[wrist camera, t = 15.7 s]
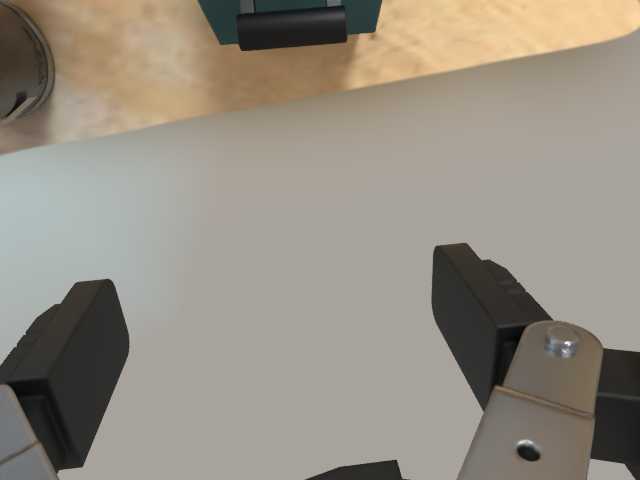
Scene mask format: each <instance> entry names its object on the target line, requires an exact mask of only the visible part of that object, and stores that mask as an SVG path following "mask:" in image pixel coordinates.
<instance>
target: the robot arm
mask: <svg viewBox="0 0 640 480" xmlns="http://www.w3.org/2000/svg"><path fill="white" fill-rule="evenodd" d="M53 81H54V62H53V57H52V53H51V50H50V48H49V45H48V43H47V41H46V39H45V37H44V35H43V34H42V32H41V31H40V29H39V28H38V26H37V25H36V24H35V23H34V22H33V21H32V20H31V19H30V18H29V17H28V16H27V15H26V14H25V13H24V12H23V11H21V10H20V9H18V8H17V7H15V6H14V5H12V4H10V3H8V2H6V1H4V0H0V121H2V120H4V121H3V122H2V123H1V124H0V126H2V125H5V124H9V123H10V122H11V121H12V120H13V119H15V118H19V117H23V116H26V115H28V114H30V113H32V112H34V111H35V110H37V109H38V108H39V107H40V106H41V105H42V104H43V103H44V102H45V101H46V99H47V98H48V96H49V94H50V92H51V89H52V86H53ZM432 310H433V315H434V318H435V321H436V324H437V326H438V327H439V329H440V331H441V333H442V335H443V337H444V339H445V340H446V342H447V344H448V346H449V348H450V350H451V352H452V354H453V355H454V357H455V359H456V361H457V363H458V365H459V366H460V369H461V370H462V372H463V374H464V376H465V378H466V380H467V382H468V383H469V385H470V387H471V389H472V391H473V393H474V394H475V397H476V398H477V400H478V402H479V404H480V406H481V408H482V410H483V412H484V414H483V416H482V418H481V421H480V423H479V426H478V428H477V431H476V433H475V436H474V438H473V440H472V443H471V445H470V448H469V450H468V453H467V455H466V458H465V460H464V463H463V465H462V467H461V470H460V472H459V475H458V477H457V480H587V474H588V467H589V461H590V459H597V460H603V461H610V462H617V463H623V464H625V465H626V467H627V468H628V470H629V471H630V472H631V473H632V475H633V477H634V478H635V479H636V480H640V352H633V351H623V350H613V349H606V348H603V347H602V344H601V342H600V341H599V340H598V339H597V338H596V337H595V336H594V335H593V334H592V333H590V332H589V331H587V330H586V329H583V328H581V327H579V326H577V325H574V324H570V323H567V322H562V321H554V320H553V319H552V318H551V317H550V316H549V315H548V314H547V313H546V312H545V310H544V309H543V308H542V307H541V306H540V305H539V304H538V303H537V302H536V301H535V300H534V298H533V297H532V296H531V295H530V294H529V293H528V292H526V291H525V289H524V288H523V287H522V285H521V284H520V283H519V282H518V283H517V280H516V279H515V278H514V277H513V276H512V274H511V273H509V271H508V270H507V269H506V268H504V267H502V266H500V265H498V264H496V263H495V262H493V261H491V260H481V259H480V258H479V257H478V256H477V255H476V254H475V252H474V251H473V250H472V249H471V248H470V246H468V244H466V243H460V244H450V245H440V246H436V247H435V249H434V253H433V274H432ZM128 353H129V334H128V330H127V326H126V323H125V319H124V316H123V313H122V309H121V306H120V302H119V299H118V295H117V292H116V288H115V286H114V283H113V282H112V281H111V280H110V279H103V280H93V281H83V282H77V283H75V284H74V286H73V287H72V288H71V290H70V291H69V292H68V294H67V295H66V297H65V298H64V300H63V301H62V303H61V304H55V305H54V306H52V307H51V308H50V309H48V310H47V311H45V312H44V313H43V314H41V315H40V316H39V317H37V318H36V319H35V321H34V322H33V324H32V325H31V326H30V327H29V329H28V330H27V331H26V335H23V337H22V338H21V339H20V340H19V342H18V343H17V347H15V348H13V350H12V351H11V352H10V354H9V355H8V357H7V358H6V359H5V360H4V362H3V363H2V364H1V366H0V480H59V478H58V476H57V473H58V471H59V470H63V469H71V468H79V467H83V465H84V462H85V460H86V457H87V455H88V452H89V450H90V448H91V445H92V442H93V440H94V438H95V435H96V433H97V430H98V428H99V425H100V423H101V421H102V418H103V416H104V413H105V411H106V408H107V406H108V404H109V401H110V399H111V396H112V394H113V391H114V389H115V386H116V384H117V381H118V379H119V377H120V374H121V372H122V369H123V367H124V364H125V362H126V359H127V357H128ZM306 480H407V479H402V477H401V473H400V469H399V466H398V462H397V460H391V461H382V462H375V463H367V464H360V465H352V466H344V467H338V468H335V469H333V470H330V471H328V472H325V473H322V474H319V475H317V476H314V477H311V478H309V479H306Z"/></svg>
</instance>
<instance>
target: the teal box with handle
mask: <svg viewBox="0 0 640 480" xmlns="http://www.w3.org/2000/svg"><path fill="white" fill-rule="evenodd" d="M197 1H198V2H199V4H200V6H201V8H202V10H203V12H204V14H205V16H206V18H207V20H208V22H209V24H210V26H211V28H212V30H213V31H214V33H215V35H216V37H217V39H218V41H219V43H220V45H227V44H239V47H240V49H241V51H250V50H262V49H275V48H287V47H299V46H311V45H323V44H335V43H346V42H347V35H348V34H361V33H373V32H375V30H376V26H377V22H378V17H379V13H380V8H381V4H382V0H197Z"/></svg>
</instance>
